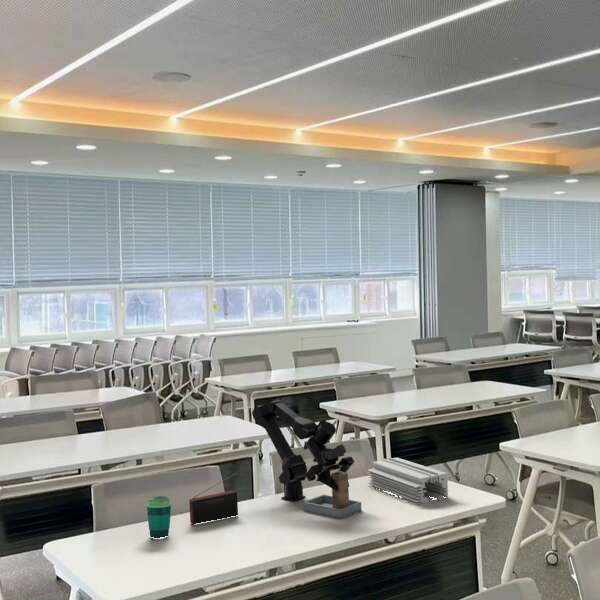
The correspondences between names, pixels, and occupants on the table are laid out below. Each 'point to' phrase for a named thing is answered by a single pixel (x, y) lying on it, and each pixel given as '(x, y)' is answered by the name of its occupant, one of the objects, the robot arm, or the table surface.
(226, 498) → the radio
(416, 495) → the aluminum extrusion profile
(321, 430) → the robot arm
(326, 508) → the tray
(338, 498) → the block
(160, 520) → the cup
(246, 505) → the table surface
